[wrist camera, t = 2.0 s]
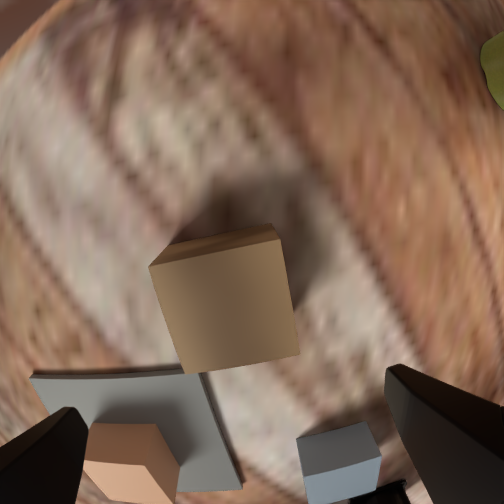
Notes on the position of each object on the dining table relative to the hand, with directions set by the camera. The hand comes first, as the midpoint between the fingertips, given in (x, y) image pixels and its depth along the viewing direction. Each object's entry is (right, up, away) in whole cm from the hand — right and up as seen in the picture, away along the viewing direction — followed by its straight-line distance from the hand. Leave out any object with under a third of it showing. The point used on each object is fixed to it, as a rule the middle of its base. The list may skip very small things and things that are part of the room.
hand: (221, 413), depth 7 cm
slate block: (+7, -12, +14) cm, 19 cm away
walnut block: (0, +3, +10) cm, 10 cm away
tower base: (-8, -11, +12) cm, 18 cm away
